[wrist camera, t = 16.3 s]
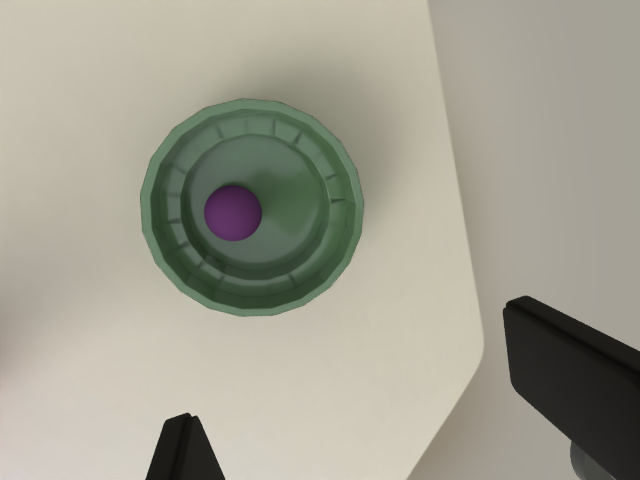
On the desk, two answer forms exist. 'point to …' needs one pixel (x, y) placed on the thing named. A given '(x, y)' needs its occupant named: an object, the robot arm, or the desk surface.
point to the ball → (232, 213)
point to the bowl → (275, 199)
